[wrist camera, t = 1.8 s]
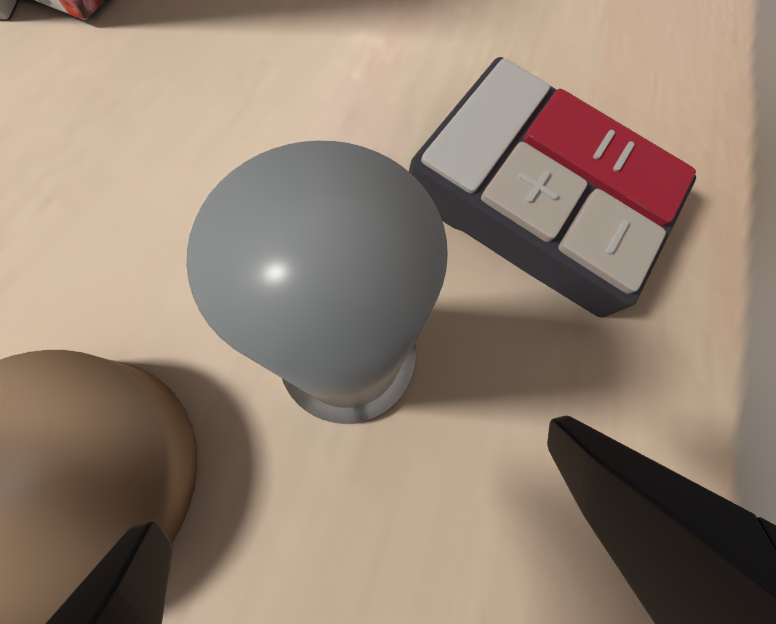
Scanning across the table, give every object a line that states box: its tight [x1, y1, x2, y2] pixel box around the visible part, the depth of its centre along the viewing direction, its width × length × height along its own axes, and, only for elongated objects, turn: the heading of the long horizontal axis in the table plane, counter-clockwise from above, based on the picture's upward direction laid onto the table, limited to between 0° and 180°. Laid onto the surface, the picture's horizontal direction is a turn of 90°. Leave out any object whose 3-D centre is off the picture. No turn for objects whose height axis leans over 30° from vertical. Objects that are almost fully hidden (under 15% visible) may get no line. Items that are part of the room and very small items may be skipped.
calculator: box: [409, 57, 696, 317], centre depth 23 cm, size 11×4×15 cm
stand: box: [0, 350, 197, 624], centre depth 17 cm, size 12×12×3 cm
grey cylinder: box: [187, 141, 448, 424], centre depth 15 cm, size 8×8×13 cm
